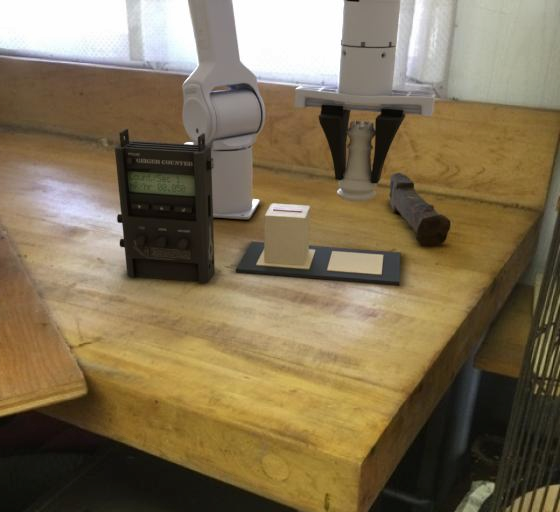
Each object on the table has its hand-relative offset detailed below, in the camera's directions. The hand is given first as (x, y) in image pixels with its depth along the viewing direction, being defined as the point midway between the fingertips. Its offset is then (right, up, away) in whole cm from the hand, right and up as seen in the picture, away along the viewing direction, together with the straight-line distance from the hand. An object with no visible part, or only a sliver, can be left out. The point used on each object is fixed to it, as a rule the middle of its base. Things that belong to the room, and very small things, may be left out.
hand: (358, 179), depth 77 cm
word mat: (-4, -9, +2) cm, 10 cm away
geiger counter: (-21, -11, -1) cm, 24 cm away
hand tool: (+8, -2, +16) cm, 18 cm away
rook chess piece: (0, -2, +1) cm, 2 cm away
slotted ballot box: (-8, -8, +3) cm, 12 cm away
